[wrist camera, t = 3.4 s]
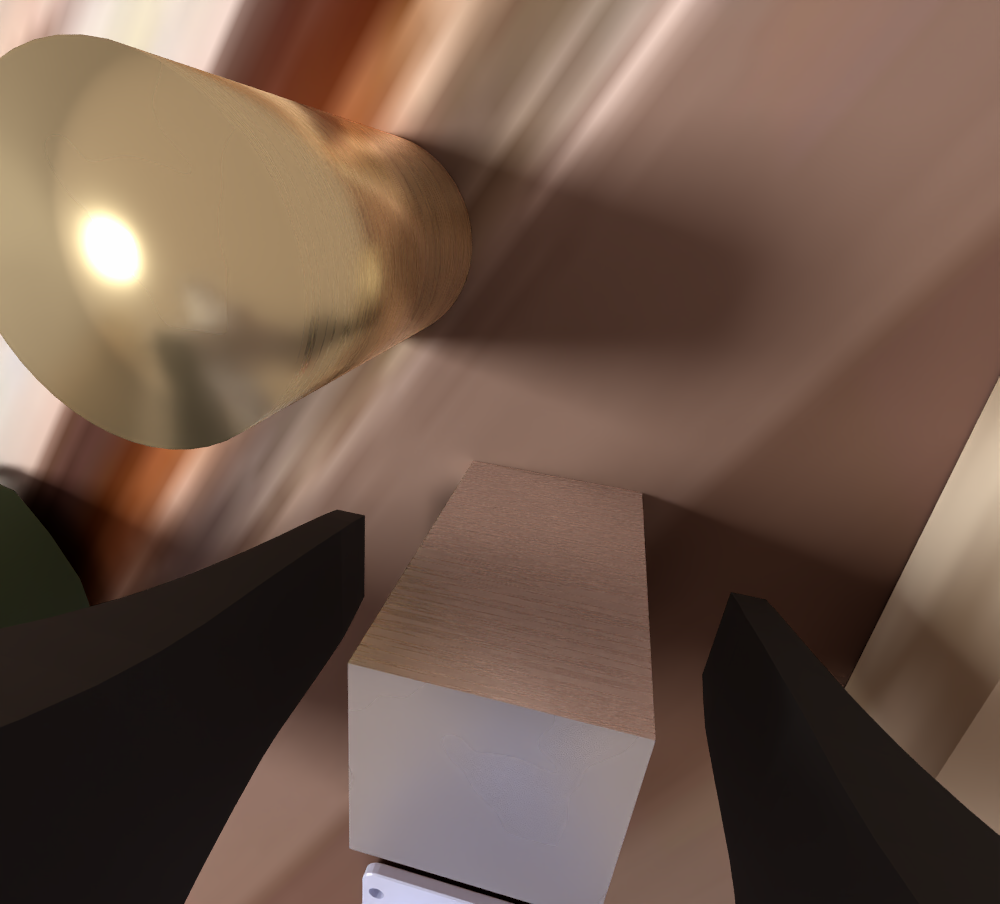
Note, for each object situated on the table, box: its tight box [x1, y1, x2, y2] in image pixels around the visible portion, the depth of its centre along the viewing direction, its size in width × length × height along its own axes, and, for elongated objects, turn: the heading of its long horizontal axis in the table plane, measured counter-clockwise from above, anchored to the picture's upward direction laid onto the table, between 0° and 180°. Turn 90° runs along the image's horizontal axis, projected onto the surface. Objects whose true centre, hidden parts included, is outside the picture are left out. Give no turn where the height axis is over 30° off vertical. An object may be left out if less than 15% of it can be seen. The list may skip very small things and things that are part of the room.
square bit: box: [348, 461, 655, 904], centre depth 10 cm, size 4×4×6 cm
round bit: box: [0, 35, 472, 449], centre depth 8 cm, size 4×4×6 cm
